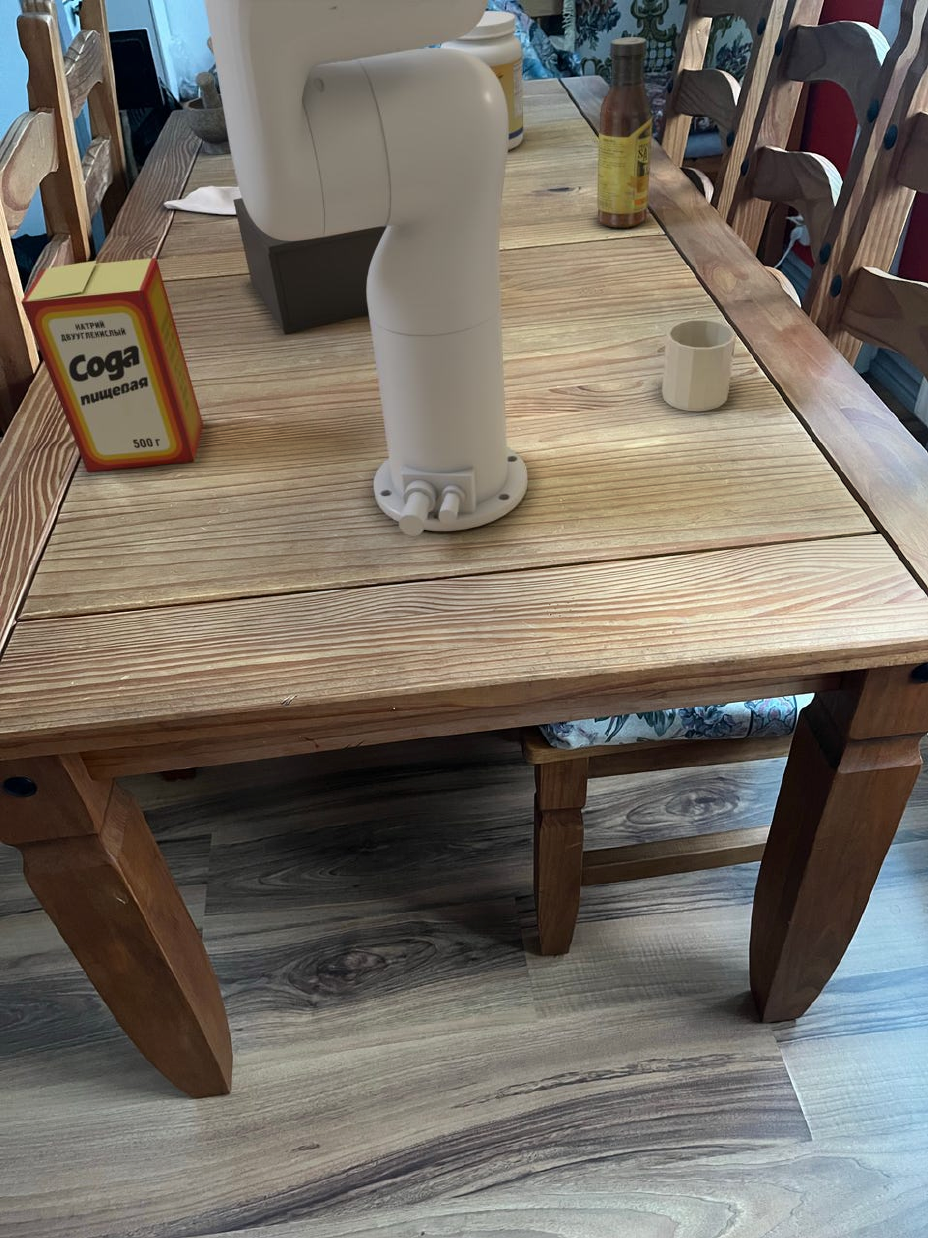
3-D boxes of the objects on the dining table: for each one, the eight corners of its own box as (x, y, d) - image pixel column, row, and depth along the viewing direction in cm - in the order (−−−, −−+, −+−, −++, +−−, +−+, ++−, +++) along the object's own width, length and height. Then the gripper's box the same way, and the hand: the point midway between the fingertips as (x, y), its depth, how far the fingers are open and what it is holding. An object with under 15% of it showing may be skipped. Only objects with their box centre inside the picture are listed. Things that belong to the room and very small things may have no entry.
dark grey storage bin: (403, 306, 107) (394, 225, 101) (284, 334, 103) (268, 252, 97) (359, 259, 118) (349, 183, 112) (251, 283, 114) (234, 207, 108)
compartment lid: (396, 227, 100) (390, 176, 97) (269, 254, 97) (259, 203, 93) (349, 183, 112) (342, 137, 108) (234, 206, 108) (224, 159, 105)
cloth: (152, 223, 132) (147, 206, 131) (174, 190, 142) (169, 173, 141) (340, 210, 131) (338, 192, 130) (348, 177, 141) (346, 160, 140)
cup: (729, 412, 85) (738, 349, 81) (661, 410, 86) (666, 348, 82) (726, 380, 89) (734, 318, 85) (661, 379, 90) (666, 318, 86)
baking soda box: (203, 423, 90) (155, 253, 79) (194, 460, 85) (141, 285, 74) (101, 433, 90) (40, 264, 79) (87, 471, 85) (19, 297, 74)
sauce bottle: (645, 230, 118) (655, 46, 105) (594, 230, 119) (598, 47, 106) (648, 211, 123) (658, 32, 110) (599, 211, 124) (603, 34, 111)
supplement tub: (435, 156, 146) (424, 27, 135) (458, 132, 155) (450, 8, 143) (513, 157, 143) (508, 26, 132) (532, 133, 151) (530, 7, 140)
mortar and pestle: (197, 142, 160) (178, 61, 152) (254, 136, 161) (238, 55, 153) (191, 162, 152) (171, 78, 144) (251, 156, 152) (234, 71, 144)
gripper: (189, -75, 77) (237, 151, 89) (391, -101, 82) (411, 118, 93) (173, -84, 83) (220, 131, 94) (364, -108, 87) (386, 101, 98)
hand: (315, 124), depth 94 cm, fingers open, 9 cm apart
